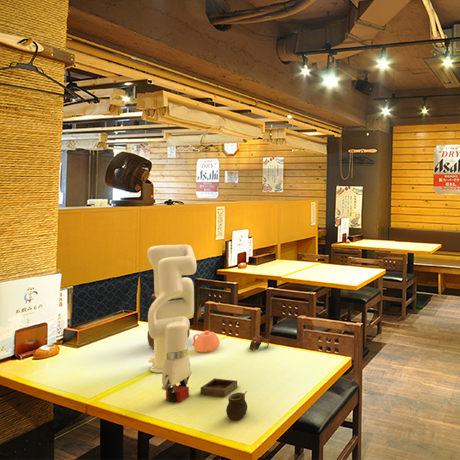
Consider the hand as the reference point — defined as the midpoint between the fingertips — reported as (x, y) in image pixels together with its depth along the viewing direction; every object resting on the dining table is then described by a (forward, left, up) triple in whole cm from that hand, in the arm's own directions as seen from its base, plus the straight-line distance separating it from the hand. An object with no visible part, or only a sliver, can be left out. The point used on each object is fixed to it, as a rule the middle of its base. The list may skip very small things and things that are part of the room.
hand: (177, 397), depth 146 cm
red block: (0, 0, 0) cm, 0 cm away
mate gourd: (+31, -7, -1) cm, 32 cm away
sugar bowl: (-24, +47, -1) cm, 53 cm away
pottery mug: (+3, +54, -1) cm, 54 cm away
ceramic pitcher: (-48, +49, -1) cm, 69 cm away
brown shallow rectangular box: (+12, +9, 0) cm, 15 cm away
